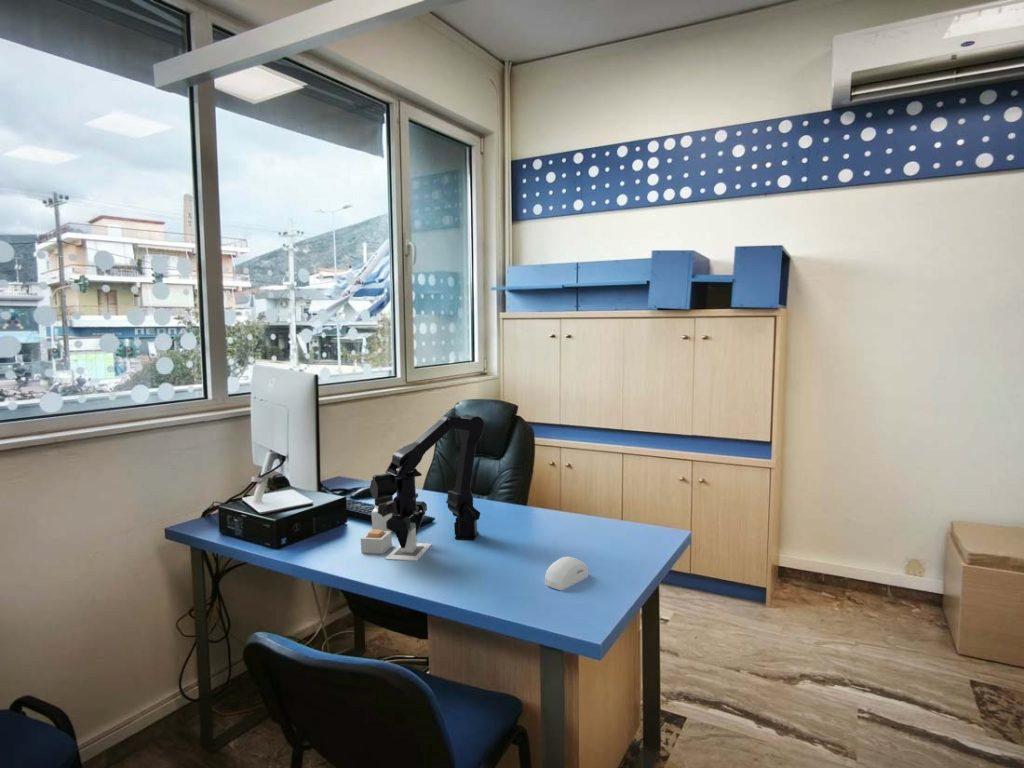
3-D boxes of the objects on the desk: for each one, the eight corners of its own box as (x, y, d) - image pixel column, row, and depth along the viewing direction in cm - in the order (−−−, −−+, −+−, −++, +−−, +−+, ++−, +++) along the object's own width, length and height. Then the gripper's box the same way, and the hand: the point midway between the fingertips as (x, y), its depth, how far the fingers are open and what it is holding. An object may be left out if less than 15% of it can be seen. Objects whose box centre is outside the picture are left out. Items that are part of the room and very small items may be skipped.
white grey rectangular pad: (431, 544, 191) (431, 543, 191) (417, 561, 179) (417, 559, 178) (401, 543, 193) (401, 541, 193) (385, 559, 181) (385, 557, 181)
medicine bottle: (393, 532, 204) (391, 497, 203) (372, 532, 204) (370, 497, 203) (397, 524, 211) (396, 491, 210) (377, 525, 211) (375, 491, 210)
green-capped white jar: (416, 548, 187) (415, 522, 186) (412, 552, 184) (411, 526, 183) (405, 547, 188) (404, 522, 187) (401, 552, 184) (399, 526, 184)
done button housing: (391, 545, 192) (391, 531, 191) (382, 553, 185) (382, 539, 185) (371, 544, 193) (370, 530, 193) (361, 552, 186) (360, 538, 186)
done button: (384, 537, 190) (383, 529, 190) (379, 541, 187) (378, 533, 186) (373, 536, 191) (372, 529, 191) (368, 540, 187) (367, 533, 187)
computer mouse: (591, 576, 164) (590, 554, 164) (560, 592, 155) (559, 569, 155) (572, 570, 169) (572, 548, 168) (541, 585, 160) (540, 562, 159)
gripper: (393, 483, 195) (395, 530, 196) (367, 500, 176) (371, 552, 178) (426, 484, 192) (428, 532, 194) (404, 501, 174) (407, 554, 176)
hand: (408, 542), depth 186 cm, fingers open, 9 cm apart
